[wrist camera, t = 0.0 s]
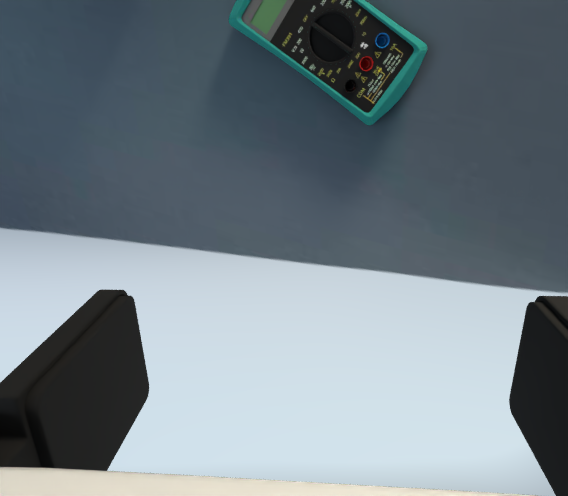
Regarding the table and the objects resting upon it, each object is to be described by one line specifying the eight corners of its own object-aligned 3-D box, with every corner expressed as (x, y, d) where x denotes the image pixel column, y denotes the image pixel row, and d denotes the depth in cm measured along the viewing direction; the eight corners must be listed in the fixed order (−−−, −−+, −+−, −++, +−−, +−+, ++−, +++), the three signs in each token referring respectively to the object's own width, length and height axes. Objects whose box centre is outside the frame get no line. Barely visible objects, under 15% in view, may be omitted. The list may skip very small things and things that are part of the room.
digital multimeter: (372, 128, 39) (376, 132, 36) (230, 23, 37) (222, 19, 34) (429, 52, 36) (437, 50, 33) (278, -65, 34) (274, -77, 31)
